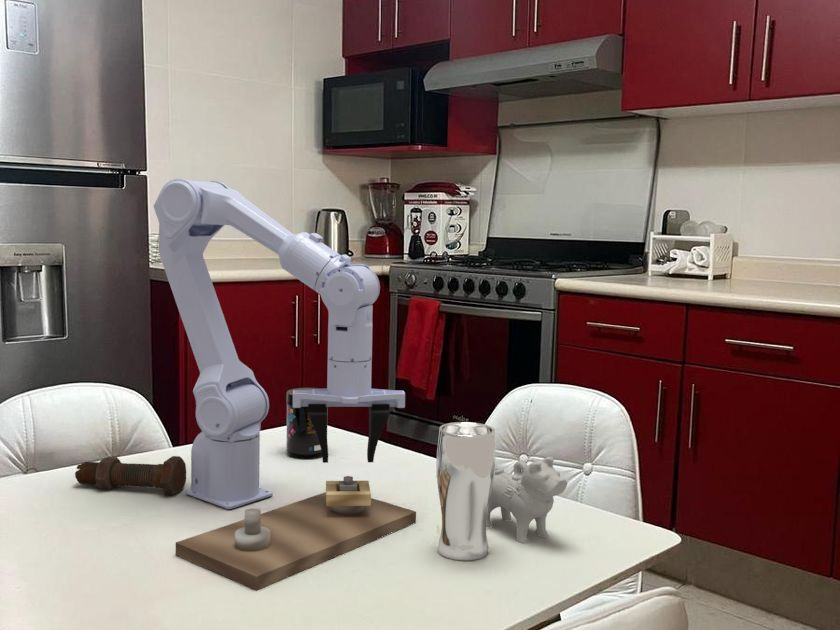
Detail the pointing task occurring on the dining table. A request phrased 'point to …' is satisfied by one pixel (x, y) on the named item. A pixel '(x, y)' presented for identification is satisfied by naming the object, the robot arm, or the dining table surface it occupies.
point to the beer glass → (465, 488)
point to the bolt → (134, 474)
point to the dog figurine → (526, 495)
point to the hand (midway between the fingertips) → (347, 460)
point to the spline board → (291, 537)
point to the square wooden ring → (348, 495)
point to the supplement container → (301, 431)
